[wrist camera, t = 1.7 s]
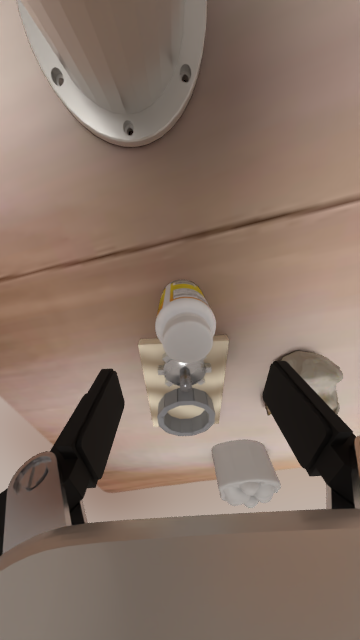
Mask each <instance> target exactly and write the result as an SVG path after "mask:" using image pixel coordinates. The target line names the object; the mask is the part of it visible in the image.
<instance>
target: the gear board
mask: <svg viewBox="0 0 360 640" xmlns="http://www.w3.org/2000/svg"><path fill="white" fill-rule="evenodd" d="M228 345H229V340H228V338H227V336H226V335H214V336H213V345H212V348H211V350H210V352H209V353H208V354H207V355H206V357H207V358H205V359H204V362H205V363H210V364H211V367H212V368H211V373H205V376H204V378H205V383H203V384H202V385H199V384H198V383H196V384H194V385H192V388H196V389H199V390H202V391H205V392H206V393H207V394H208V395H209V397H210V398H211V399H212V402H213V406H214V410H215V422H214V424H219V416H220V408H221V401H222V393H223V385H224V377H225V369H226V361H227V353H228ZM138 348H139V353H140V358H141V364H142V369H143V374H144V379H145V385H146V390H147V395H148V400H149V406H150V411H151V416H152V421H153V427H159V424H158V418H157V415H158V405H159V402H160V400H161V399H162V397H163V396H164V394H166V393H168V392H170V391H172V390H174V389H178V388H180V386H177V385H174V384H173V385H172V386H170V387H169V386H167V385H165V379H166V378H165V376H164V375H158V365H164V362H165V361H163V360H162V355H163V354H164V353H165V351H164V348H163V344H162V343H161V342H160V340H159V339H158V338H151V339H140V340H139V343H138ZM203 411H204V408H200V407H197V406H194V405H183V406H178V407H175V408H173V409H171V410H169V411H168V412H167V413H168V414H169V415H170V416H172V417H176V418H179V419H189V418H193V417H196V416H198V415H201V413H202V412H203Z"/></svg>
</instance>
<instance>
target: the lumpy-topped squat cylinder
mask: <svg viewBox="0 0 360 640" xmlns="http://www.w3.org/2000/svg"><path fill="white" fill-rule="evenodd" d="M212 455H213V460H214V466H215V472H216V477H217V482H218V488H219V491H220V497H221V499H222V500H224V501H227V502H228V503H229V504H230V505H233V506H236V505H242V504H244V505H245V506H246V507H248V508H253V507H255V506H256V505H257V504H258V502H259V501H260V502H262V503H267V502H269V501H270V500H271V499H272V496H273V493H275V492H276V493H277V492H278V490H279V489H280V488H281V484H280V482H279V479H278V477H277V475H276V472H275V470H274V468H273V465H272V463H271V461H270V458H269V456H268V454H267V451H266V449H265V447H264V445H263V444H262V443H260V442H257V441H253V440H236V441H229V442H224V443H220V444H217V445H215V446H214V447H213V448H212Z"/></svg>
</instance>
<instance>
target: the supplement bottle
mask: <svg viewBox="0 0 360 640" xmlns="http://www.w3.org/2000/svg"><path fill="white" fill-rule="evenodd" d="M155 330H156V335H157V337H158V339H159V340H160V342H161V343H162V344H163V348H164V351H165V352H166V354H167V355H168V356H169V357H170V358H171V359H173V360H175V361H177V362H181V363H192V362H196V361H199V360H201V359H203V358H204V357H205V356H206V355H207V354H208V353H209V352H210V350H211V348H212V345H213V336H214V334H215V330H216V320H215V316H214V314H213V312H212V310H211V308H210V306H209V305H208V303H207V301H206V299H205V297H204V295H203V294H202V292H201V290H200V288H199V287H198V286H197V285H196V284H195V283H193V282H191V281H188V280H176V281H173V282H171V283H170V284H168V285H167V286H166V287H165V289H164V290H163V292H162V295H161V299H160V304H159V308H158V313H157V317H156V323H155Z"/></svg>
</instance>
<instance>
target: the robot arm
mask: <svg viewBox="0 0 360 640" xmlns="http://www.w3.org/2000/svg"><path fill="white" fill-rule="evenodd" d="M16 1H17V6H18V10H19V14H20V17H21V20H22V23H23V26H24V29H25V32H26V35H27V38H28V41H29V44H30V46H31V48H32V50H33V53H34V55H35V57H36V59H37V61H38V64H39V66H40V68H41V70H42V72H43V73H44V75H45V77H46V78H47V80H48V82H49V83H50V85H51V87H52V88H53V90H54V92H55V93H56V94H57V96H58V97H59V98H60V100H61V101H62V102H63V103H64V105H65V106H66V107H67V109H68V110H69V111H70V112H71V113H72V114H73V115H74V116H75V118H76V119H77V120H78V121H79V122H80V123H81V124H82V125H83V126H84V127H86V128H87V129H88V130H89V131H91V132H92V133H93V134H94V135H96V136H98V137H100V138H101V139H103V140H105V141H107V142H109V143H112V144H116V145H119V146H125V147H138V146H142V145H146V144H150V143H151V142H153V141H155V140H157V139H159V138H161V137H162V136H163V135H164V134H165V133H167V132H168V131H169V130H170V129H171V128H172V127H173V126H174V125H175V123H176V122H177V121H178V119H179V118H180V116H181V115H182V114H183V112H184V110H185V108H186V106H187V104H188V102H189V100H190V98H191V96H192V93H193V90H194V87H195V84H196V81H197V78H198V75H199V70H200V64H201V59H202V54H203V48H204V40H205V32H206V22H207V0H16ZM183 80H187V82H186V83H185V82H183ZM62 84H63V85H62ZM129 131H133V134H132V135H130V136H129V135H128V133H129ZM263 399H264V402H265V403H266V405H267V407H268V409H269V410H270V412H271V414H272V416H273V417H274V419H275V421H276V423H277V425H278V426H279V428H280V430H281V432H282V433H283V435H284V437H285V439H286V440H287V442H288V444H289V446H290V448H291V449H292V451H293V453H294V455H295V456H296V458H297V460H298V462H299V463H300V465H301V466H302V467H303V468H305V469H306V470H307V472H308V474H309V476H322V477H323V479H324V481H325V482H326V509H321V510H320V509H318V510H297V511H276V512H256V513H238V514H220V515H201V516H183V517H167V518H150V519H135V520H120V521H108V522H96V523H87V518H86V514H85V509H84V505H83V501H82V499H83V497H84V495H85V492H86V489H87V488H95V487H96V484H97V481H98V480H99V479H101V478H102V476H103V473H104V470H105V466H106V463H107V460H108V457H109V454H110V450H111V447H112V444H113V441H114V438H115V434H116V431H117V428H118V425H119V422H120V418H121V415H122V412H123V409H124V398H123V395H122V391H121V387H120V384H119V380H118V376H117V373H116V371H113V369H102V370H101V371H100V373H99V374H98V376H97V378H96V379H95V381H94V383H93V385H92V386H91V388H90V390H89V391H88V393H87V394H85V395H84V396H83V398H82V399H81V401H80V402H79V404H78V406H77V407H76V409H75V411H74V412H73V414H72V416H71V417H70V419H69V421H68V422H67V424H66V426H65V427H64V429H63V431H62V432H61V434H60V436H59V437H58V439H57V441H56V442H55V444H54V446H53V447H52V449H51V451H50V452H47V451H46V452H42V453H39V454H37V455H36V456H33V457H32V458H30V459H29V460H28V461H26V462H25V463H24V465H22V466H21V467H20V468H19V469H18V471H17V472H16V473H15V475H14V476H13V478H12V479H11V481H10V484H9V486H8V488H7V489H6V490H5V491H3V492H2V493H1V494H0V640H360V436H357V437H356V436H355V435H354V434H353V433H352V432H353V431H352V430H351V429H350V428H349V427H348V426H347V425H346V424H345V423H344V422H343V421H342V420H341V418H340V417H339V416H338V415H337V414H336V413H335V412H334V411H333V410H332V409H331V408H330V407H329V406H328V405H327V404H326V403H325V402H324V400H323V399H322V398H321V397H320V396H319V395H318V394H317V393H316V392H315V391H314V390H313V389H312V388H311V387H310V386H309V385H308V384H307V382H306V381H305V380H304V379H303V378H302V377H301V376H300V375H299V374H298V373H297V372H296V371H295V370H294V369H293V368H292V367H291V366H290V364H289V363H288V362H286V361H274V362H273V364H271V366H270V370H269V373H268V377H267V381H266V384H265V388H264V392H263Z"/></svg>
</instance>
